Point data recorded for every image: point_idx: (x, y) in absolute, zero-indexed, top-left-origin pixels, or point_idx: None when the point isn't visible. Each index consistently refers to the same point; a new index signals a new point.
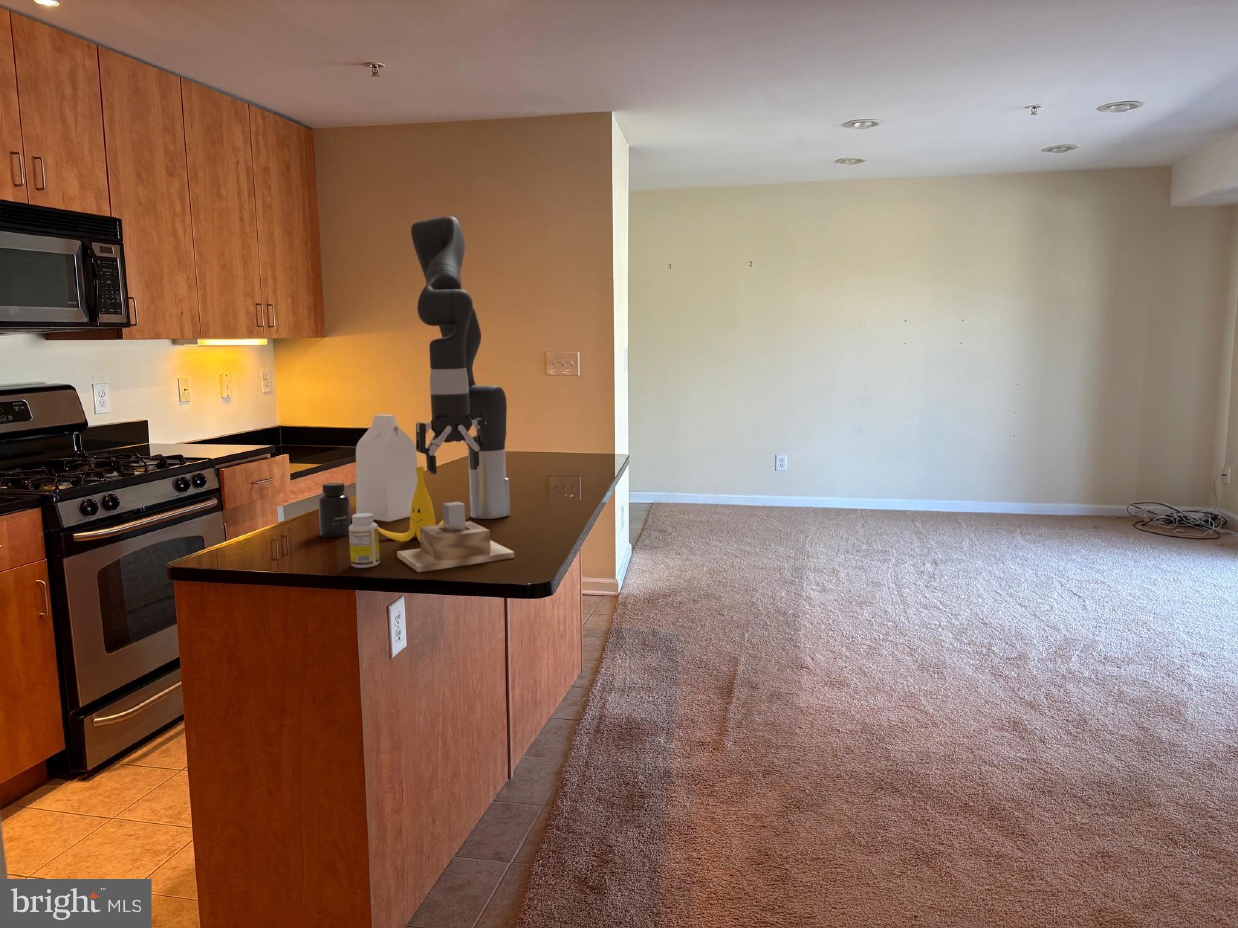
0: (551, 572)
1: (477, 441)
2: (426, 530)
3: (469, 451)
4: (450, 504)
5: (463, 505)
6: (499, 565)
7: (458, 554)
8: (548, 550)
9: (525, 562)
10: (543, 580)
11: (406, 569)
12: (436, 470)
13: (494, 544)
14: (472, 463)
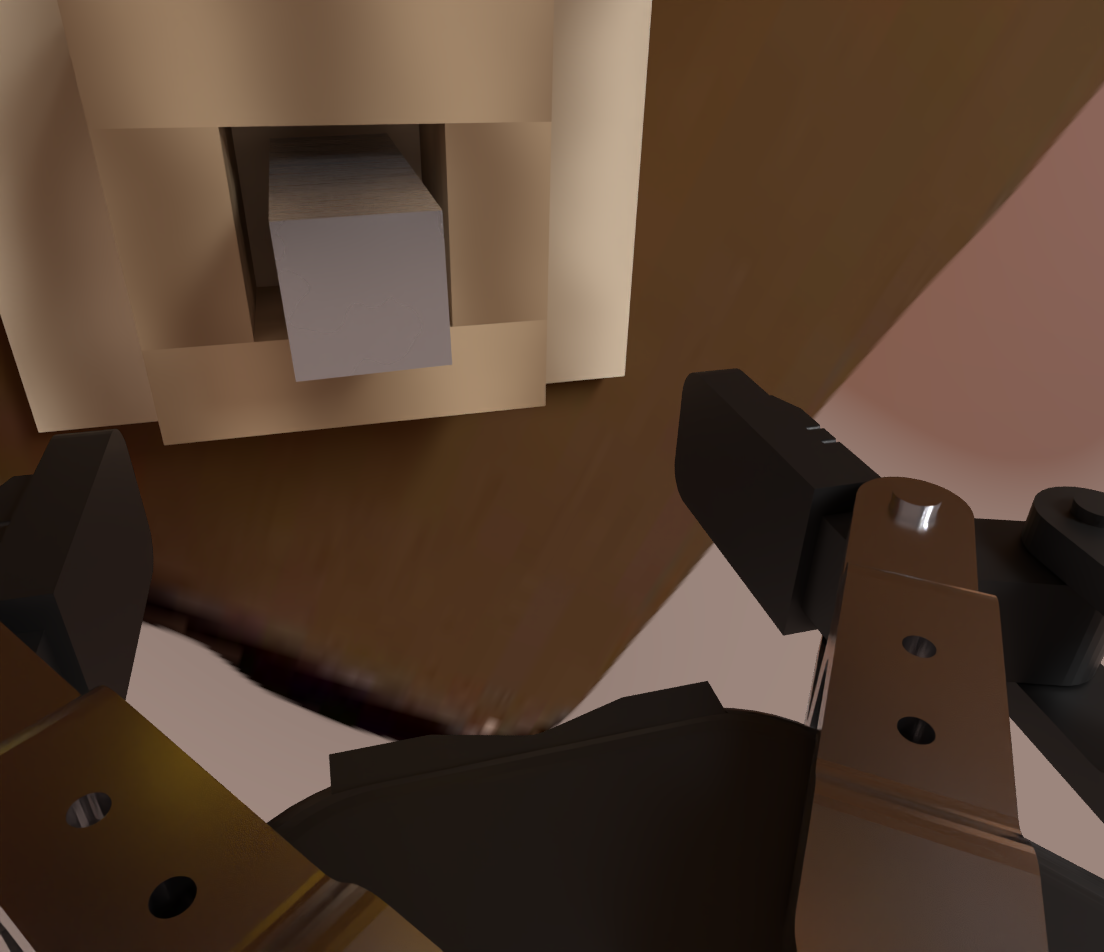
0: (622, 635)
1: (1082, 550)
2: (108, 174)
3: (810, 496)
4: (331, 316)
5: (439, 360)
6: (492, 464)
7: None
8: (814, 306)
9: (614, 465)
10: (547, 710)
11: None
12: (147, 584)
13: (618, 140)
14: (711, 491)
